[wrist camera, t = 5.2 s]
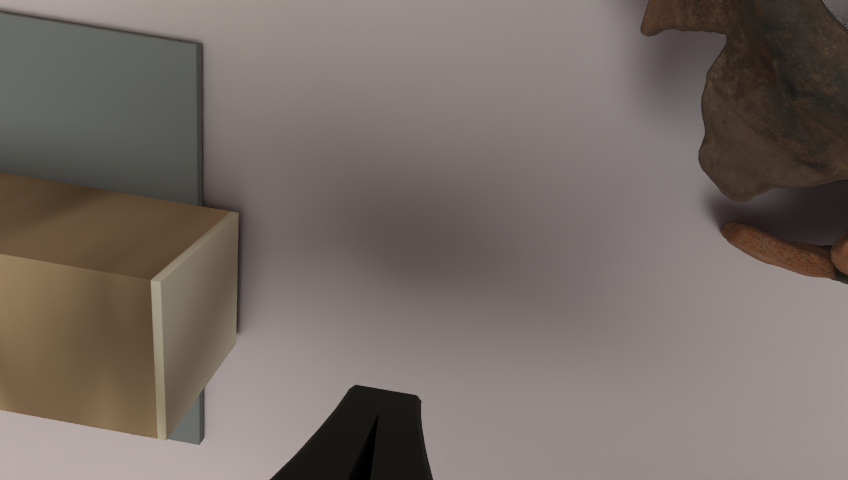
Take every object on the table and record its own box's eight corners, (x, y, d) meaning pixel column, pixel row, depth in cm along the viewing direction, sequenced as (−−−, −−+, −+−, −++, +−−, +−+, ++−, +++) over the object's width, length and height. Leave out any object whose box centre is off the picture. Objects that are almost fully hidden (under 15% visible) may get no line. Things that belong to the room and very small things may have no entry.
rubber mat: (203, 438, 19) (199, 444, 18) (-69, 387, 19) (-77, 393, 19) (201, 44, 14) (196, 45, 14) (-161, -15, 14) (-174, -15, 14)
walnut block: (166, 440, 13) (-134, 384, 13) (235, 342, 17) (-1, 301, 17) (160, 281, 12) (-180, 222, 12) (238, 212, 15) (-23, 168, 16)
